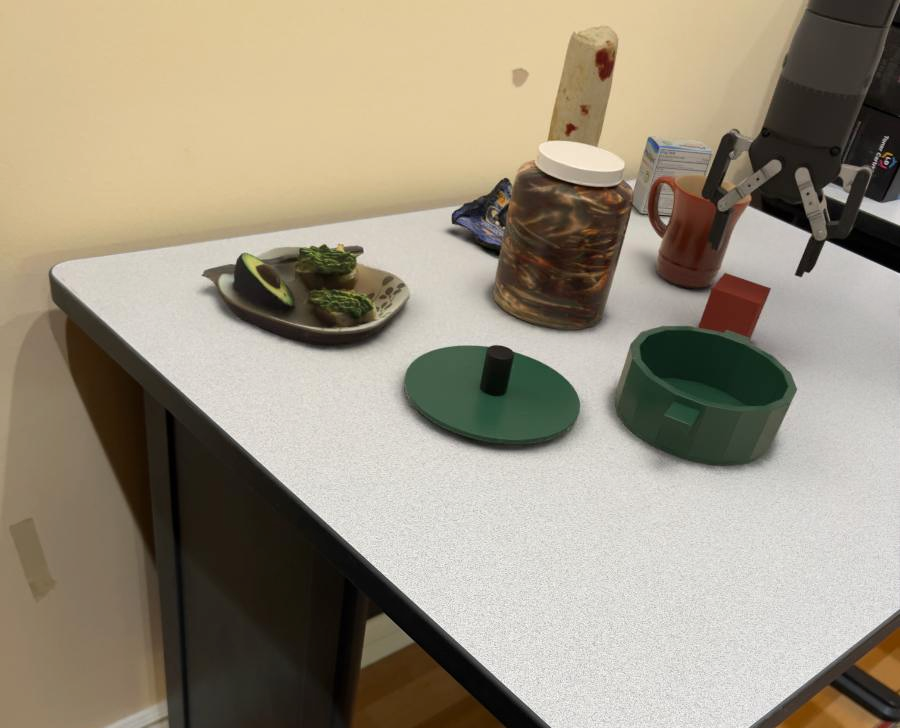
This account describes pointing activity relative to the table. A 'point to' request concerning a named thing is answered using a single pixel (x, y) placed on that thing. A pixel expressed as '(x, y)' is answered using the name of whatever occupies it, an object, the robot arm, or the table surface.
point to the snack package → (486, 215)
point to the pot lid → (492, 394)
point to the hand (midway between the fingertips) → (756, 261)
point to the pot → (703, 394)
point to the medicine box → (668, 168)
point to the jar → (563, 235)
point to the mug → (689, 231)
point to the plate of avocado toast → (310, 293)
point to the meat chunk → (734, 305)
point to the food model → (584, 86)
